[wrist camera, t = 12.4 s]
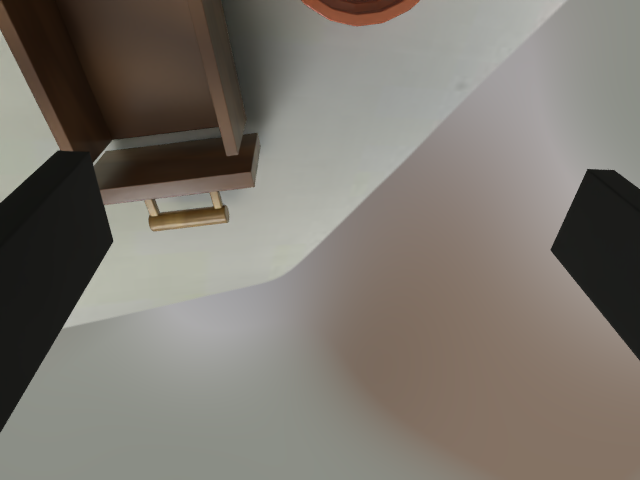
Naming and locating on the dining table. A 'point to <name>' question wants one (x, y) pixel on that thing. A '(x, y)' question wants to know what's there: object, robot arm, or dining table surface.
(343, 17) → the saucer
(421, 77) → the dining table surface
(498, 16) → the dining table surface
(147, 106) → the drawer
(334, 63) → the dining table surface
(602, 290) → the robot arm
